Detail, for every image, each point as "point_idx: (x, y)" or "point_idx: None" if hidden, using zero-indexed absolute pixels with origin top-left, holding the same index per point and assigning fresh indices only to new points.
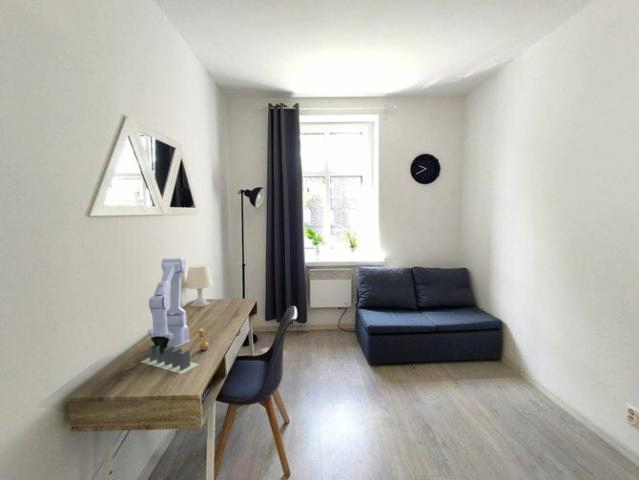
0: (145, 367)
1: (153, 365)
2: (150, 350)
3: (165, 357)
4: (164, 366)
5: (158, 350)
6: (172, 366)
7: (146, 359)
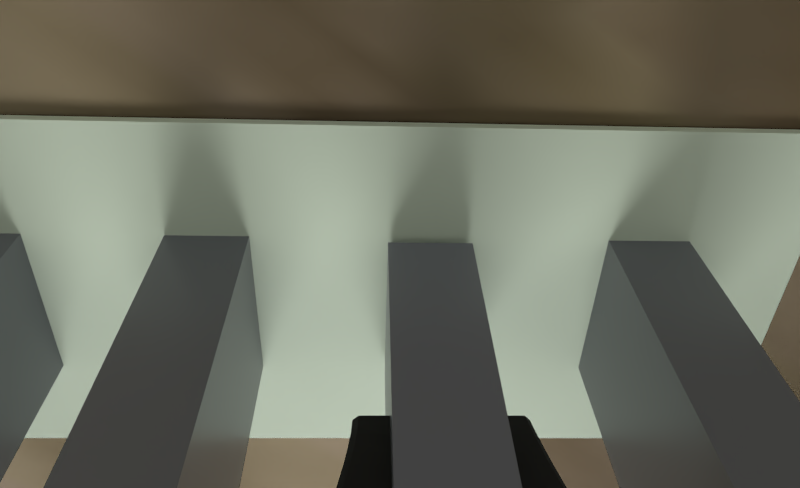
0: (550, 11)
1: (433, 132)
2: (753, 406)
3: (163, 344)
4: (170, 188)
5: (421, 456)
6: (5, 239)
7: (796, 244)
